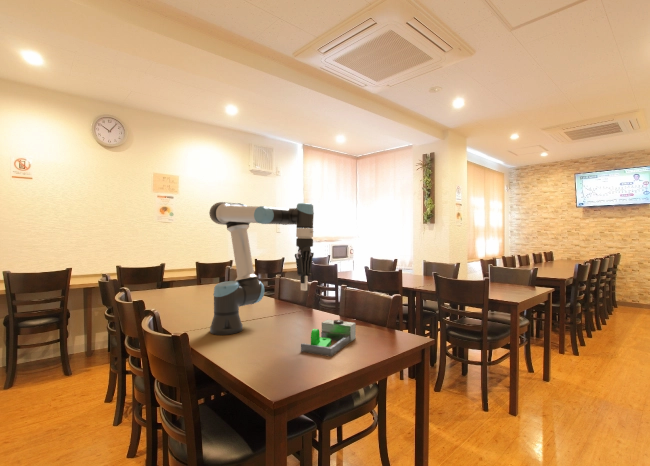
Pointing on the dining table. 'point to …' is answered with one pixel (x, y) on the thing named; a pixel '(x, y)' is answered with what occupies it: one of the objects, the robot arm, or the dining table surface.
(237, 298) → the robot arm
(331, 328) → the knobbed latch bracket
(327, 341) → the mechanical part
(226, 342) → the dining table surface
